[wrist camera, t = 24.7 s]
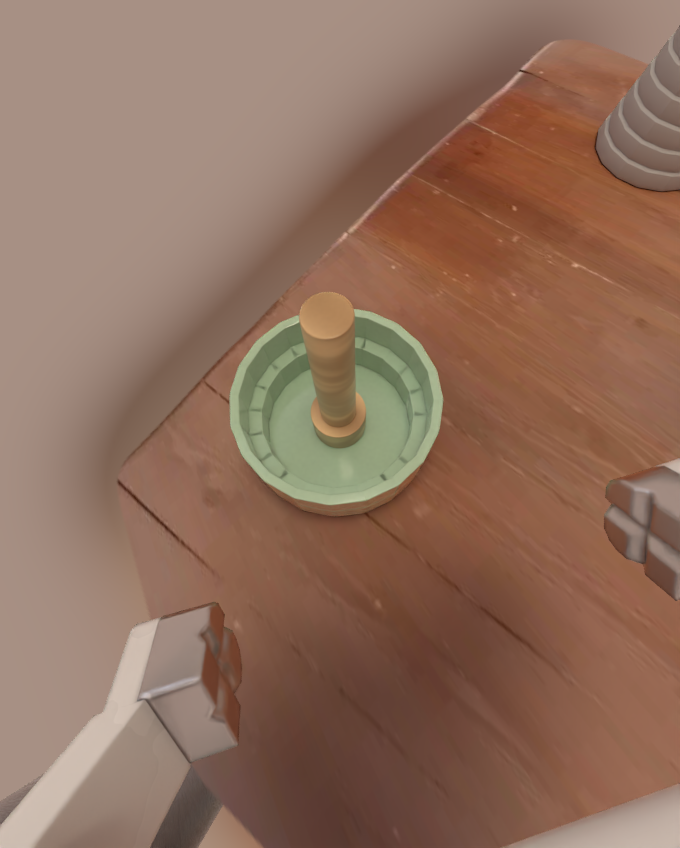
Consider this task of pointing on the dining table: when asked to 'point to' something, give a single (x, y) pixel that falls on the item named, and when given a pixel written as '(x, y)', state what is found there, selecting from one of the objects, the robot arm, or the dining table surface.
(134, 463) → the dining table surface
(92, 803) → the robot arm
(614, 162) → the soap bottle
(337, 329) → the muddler
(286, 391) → the mixing bowl
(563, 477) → the dining table surface
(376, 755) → the dining table surface
